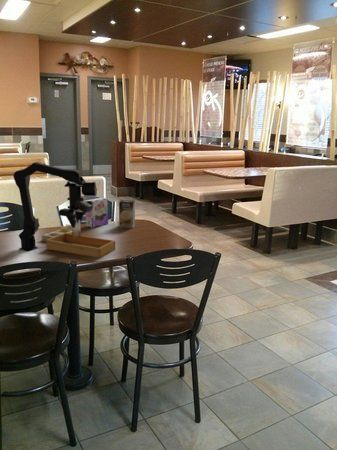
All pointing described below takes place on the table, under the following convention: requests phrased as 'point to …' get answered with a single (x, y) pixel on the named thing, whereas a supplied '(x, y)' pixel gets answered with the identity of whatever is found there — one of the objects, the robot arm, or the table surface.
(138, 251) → the table surface
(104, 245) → the tray
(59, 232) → the socket block
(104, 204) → the candy box
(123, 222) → the coffee box
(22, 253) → the table surface
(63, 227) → the drift key
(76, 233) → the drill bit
